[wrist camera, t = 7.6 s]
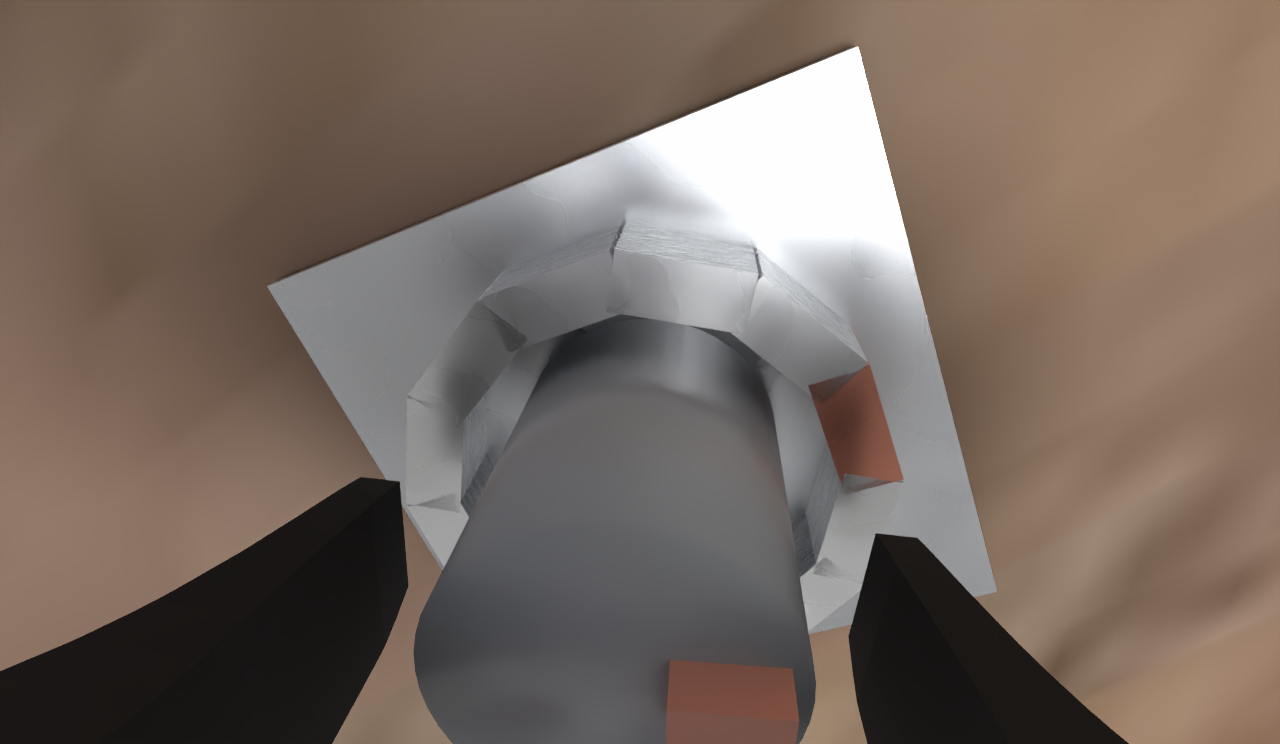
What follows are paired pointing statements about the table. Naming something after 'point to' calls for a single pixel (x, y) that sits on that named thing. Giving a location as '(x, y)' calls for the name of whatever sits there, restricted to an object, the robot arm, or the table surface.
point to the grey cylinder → (627, 561)
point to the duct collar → (671, 319)
